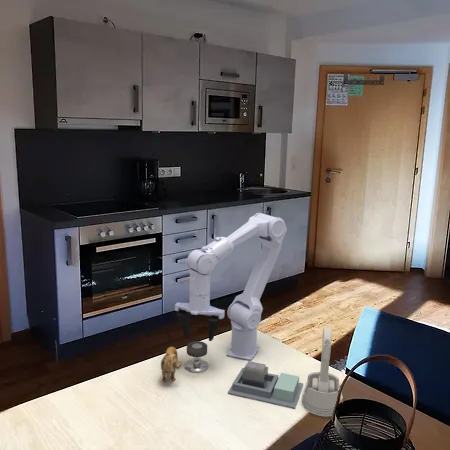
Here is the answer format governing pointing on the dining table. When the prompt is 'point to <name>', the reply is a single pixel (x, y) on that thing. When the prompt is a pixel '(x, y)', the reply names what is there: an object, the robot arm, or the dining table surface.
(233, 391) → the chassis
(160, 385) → the dining table surface
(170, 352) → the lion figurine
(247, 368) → the block
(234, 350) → the robot arm
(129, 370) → the dining table surface
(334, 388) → the engine component
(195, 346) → the wheel
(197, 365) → the axle mount
